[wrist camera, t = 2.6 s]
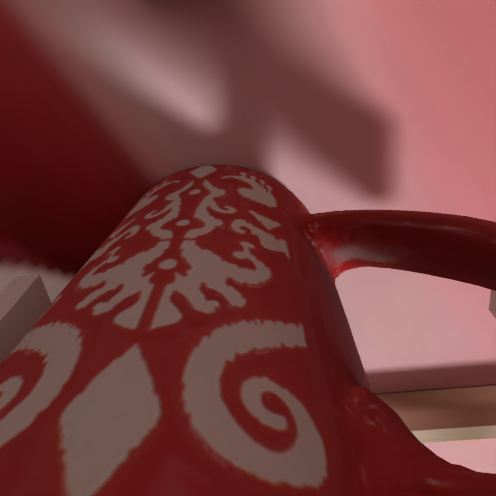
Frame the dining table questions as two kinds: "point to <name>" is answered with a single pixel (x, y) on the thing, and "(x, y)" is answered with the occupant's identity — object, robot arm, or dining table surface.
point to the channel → (447, 413)
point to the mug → (226, 353)
